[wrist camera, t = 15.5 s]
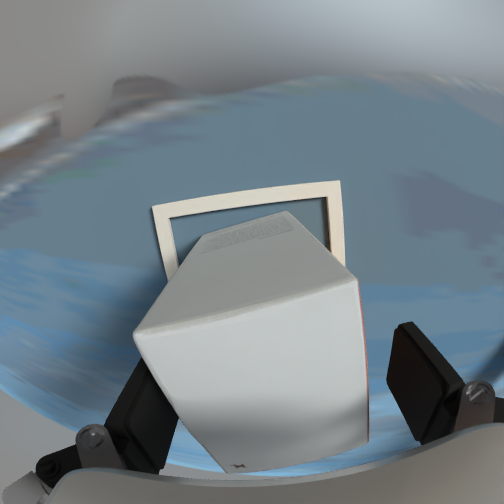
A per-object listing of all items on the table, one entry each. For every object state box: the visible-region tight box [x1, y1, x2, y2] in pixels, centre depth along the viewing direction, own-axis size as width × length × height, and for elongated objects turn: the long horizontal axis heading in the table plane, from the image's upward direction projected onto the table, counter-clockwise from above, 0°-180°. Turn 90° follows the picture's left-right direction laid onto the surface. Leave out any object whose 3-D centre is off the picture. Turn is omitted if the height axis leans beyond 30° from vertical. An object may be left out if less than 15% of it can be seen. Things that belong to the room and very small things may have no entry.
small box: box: [133, 211, 369, 473], centre depth 14 cm, size 8×6×13 cm
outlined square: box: [152, 180, 345, 282], centre depth 20 cm, size 13×12×1 cm
